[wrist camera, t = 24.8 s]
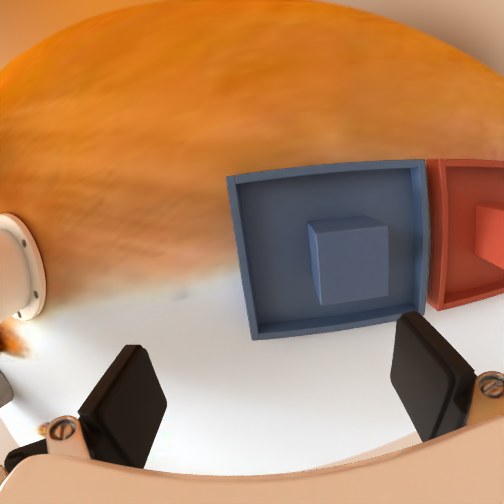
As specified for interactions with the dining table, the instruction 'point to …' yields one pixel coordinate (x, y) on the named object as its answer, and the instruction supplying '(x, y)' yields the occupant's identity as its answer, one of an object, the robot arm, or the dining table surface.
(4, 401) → the coffeepot
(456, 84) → the dining table surface
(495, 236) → the red block
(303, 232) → the blue tray
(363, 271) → the blue block
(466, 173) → the red tray
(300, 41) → the dining table surface
